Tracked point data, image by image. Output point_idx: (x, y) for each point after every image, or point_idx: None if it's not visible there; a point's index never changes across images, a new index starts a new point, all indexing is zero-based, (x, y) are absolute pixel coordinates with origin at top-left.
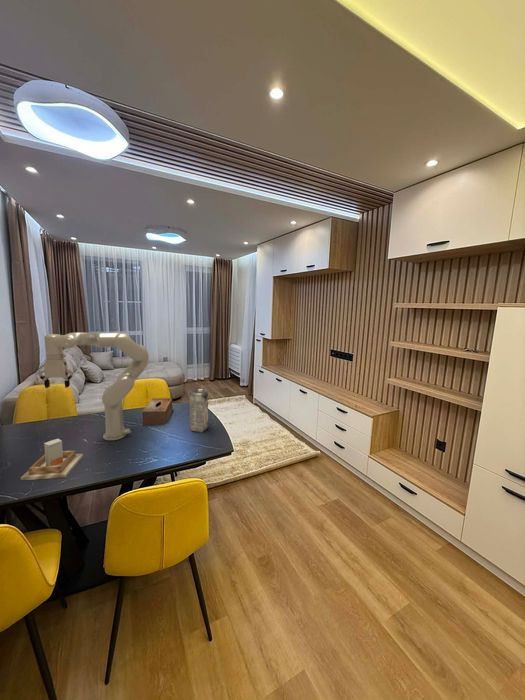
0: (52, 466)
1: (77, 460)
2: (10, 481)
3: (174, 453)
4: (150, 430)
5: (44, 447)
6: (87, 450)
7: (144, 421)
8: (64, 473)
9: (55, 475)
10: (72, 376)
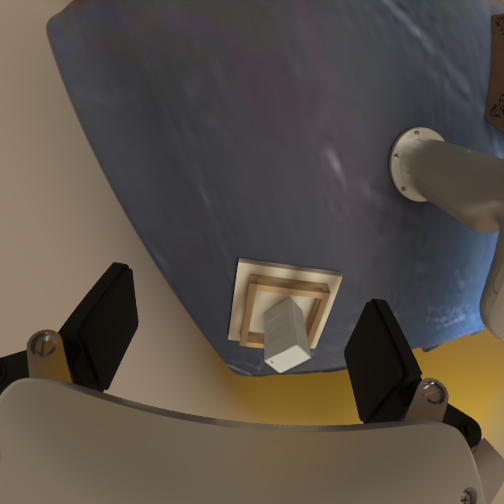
0: None
1: (332, 302)
2: (208, 331)
3: None
4: None
5: (264, 351)
6: (349, 241)
7: (496, 122)
8: (312, 346)
9: None
10: (473, 427)
